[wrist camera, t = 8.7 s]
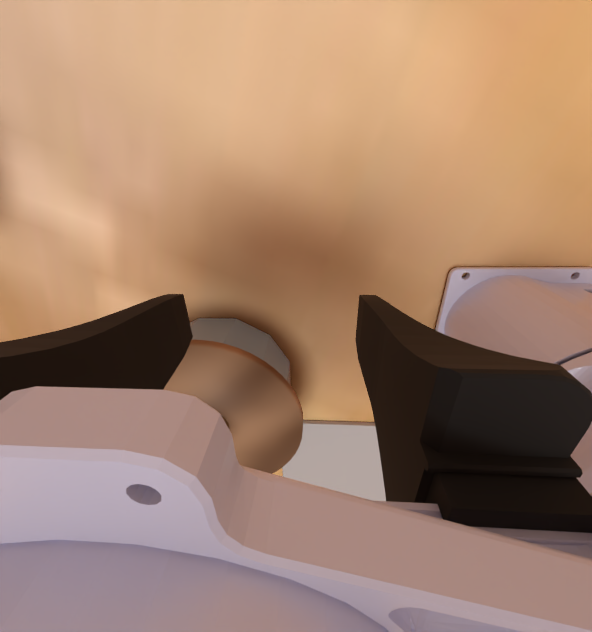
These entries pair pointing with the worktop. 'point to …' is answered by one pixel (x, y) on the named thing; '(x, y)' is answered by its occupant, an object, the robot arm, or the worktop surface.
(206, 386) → the lid
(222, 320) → the bowl
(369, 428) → the mat
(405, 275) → the worktop surface
